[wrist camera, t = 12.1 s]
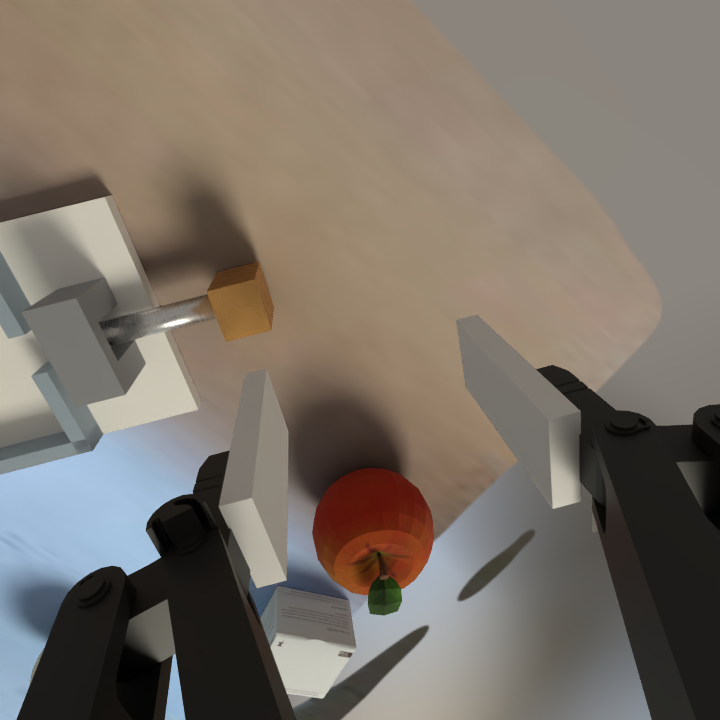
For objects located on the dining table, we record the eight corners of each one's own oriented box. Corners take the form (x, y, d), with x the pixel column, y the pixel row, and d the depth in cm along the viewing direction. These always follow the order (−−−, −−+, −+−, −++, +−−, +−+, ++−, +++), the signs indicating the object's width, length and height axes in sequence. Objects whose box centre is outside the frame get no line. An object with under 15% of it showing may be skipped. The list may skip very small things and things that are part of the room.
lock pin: (113, 347, 32) (87, 377, 28) (90, 304, 30) (60, 328, 26) (273, 306, 32) (271, 330, 28) (259, 261, 31) (254, 279, 27)
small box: (248, 636, 47) (243, 690, 42) (277, 582, 44) (275, 633, 40) (320, 649, 49) (323, 701, 44) (351, 598, 46) (358, 648, 42)
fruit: (424, 443, 39) (463, 533, 30) (414, 529, 43) (446, 631, 34) (309, 449, 38) (315, 543, 29) (310, 537, 42) (315, 644, 33)
